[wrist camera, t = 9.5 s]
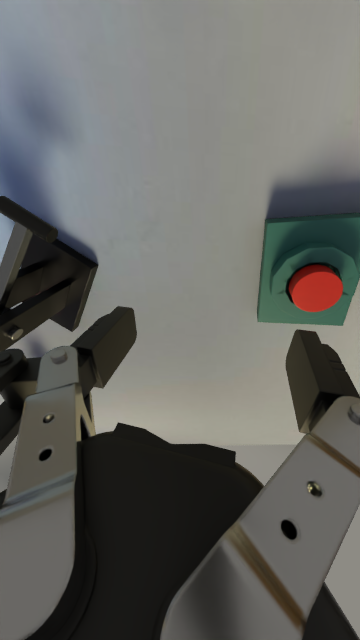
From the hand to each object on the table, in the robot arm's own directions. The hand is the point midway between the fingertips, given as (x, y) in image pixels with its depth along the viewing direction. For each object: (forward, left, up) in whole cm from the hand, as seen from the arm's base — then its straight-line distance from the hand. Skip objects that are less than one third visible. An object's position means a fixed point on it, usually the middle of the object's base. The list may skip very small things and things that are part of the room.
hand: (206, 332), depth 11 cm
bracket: (-13, -19, -15) cm, 27 cm away
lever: (-14, -15, -7) cm, 22 cm away
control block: (+7, +4, -15) cm, 17 cm away
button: (+7, +4, -11) cm, 13 cm away
